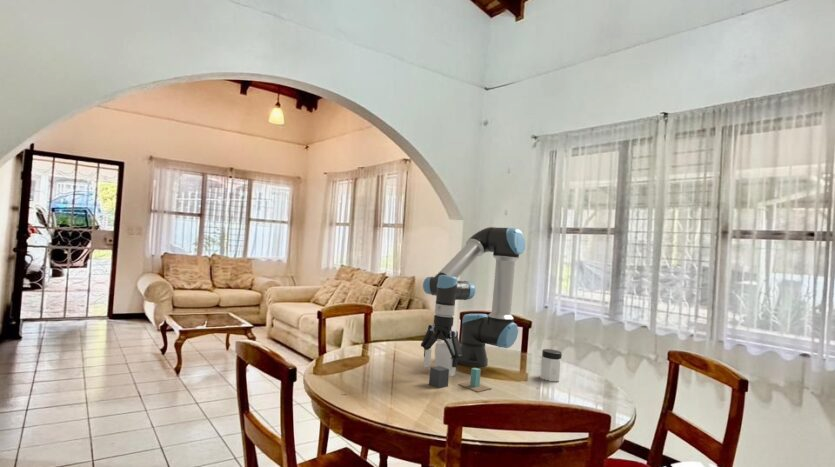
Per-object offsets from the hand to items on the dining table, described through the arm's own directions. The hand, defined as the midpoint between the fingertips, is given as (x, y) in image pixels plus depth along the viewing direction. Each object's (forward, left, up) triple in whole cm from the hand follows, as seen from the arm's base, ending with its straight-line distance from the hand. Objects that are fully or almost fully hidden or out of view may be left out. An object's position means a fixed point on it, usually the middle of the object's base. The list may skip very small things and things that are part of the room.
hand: (438, 370), depth 172 cm
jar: (+16, +53, -6) cm, 56 cm away
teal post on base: (+8, +12, -6) cm, 16 cm away
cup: (-13, +16, -6) cm, 22 cm away
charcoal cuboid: (0, 0, -6) cm, 6 cm away
